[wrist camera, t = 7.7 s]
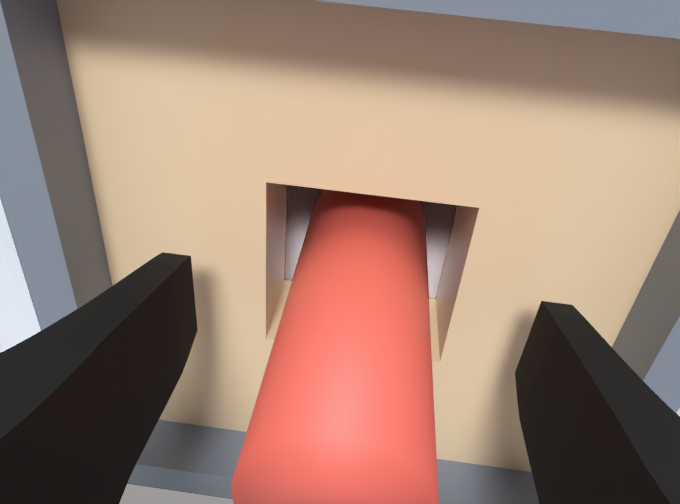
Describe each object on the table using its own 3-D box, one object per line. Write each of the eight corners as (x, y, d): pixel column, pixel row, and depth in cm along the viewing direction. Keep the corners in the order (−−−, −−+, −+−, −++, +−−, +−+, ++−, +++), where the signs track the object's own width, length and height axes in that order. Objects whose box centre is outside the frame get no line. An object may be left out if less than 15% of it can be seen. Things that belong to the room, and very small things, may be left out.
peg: (434, 179, 14) (459, 456, 7) (415, 275, 15) (420, 572, 9) (315, 164, 14) (227, 423, 7) (309, 261, 15) (233, 543, 9)
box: (777, -49, 10) (953, -19, 7) (554, 429, 18) (587, 550, 15) (56, -118, 11) (-98, -122, 8) (143, 373, 19) (86, 477, 15)
